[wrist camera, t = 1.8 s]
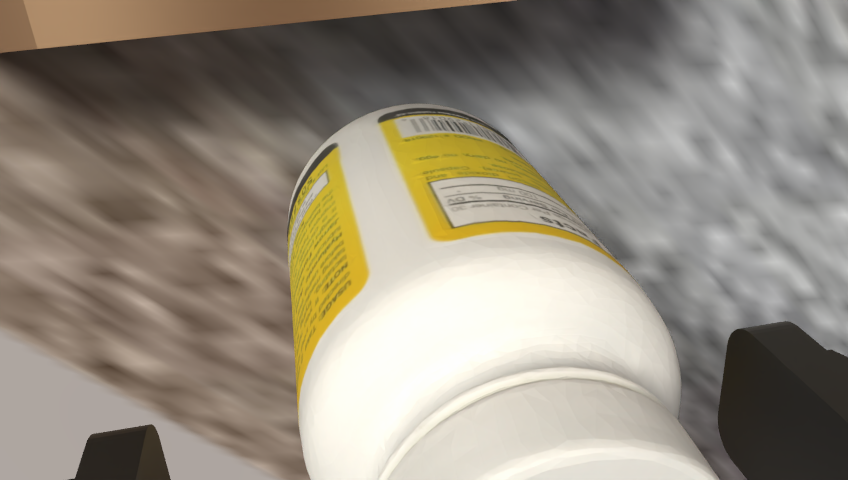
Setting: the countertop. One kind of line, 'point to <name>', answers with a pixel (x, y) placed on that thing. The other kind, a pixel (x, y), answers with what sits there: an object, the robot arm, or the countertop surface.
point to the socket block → (173, 17)
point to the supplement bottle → (468, 318)
